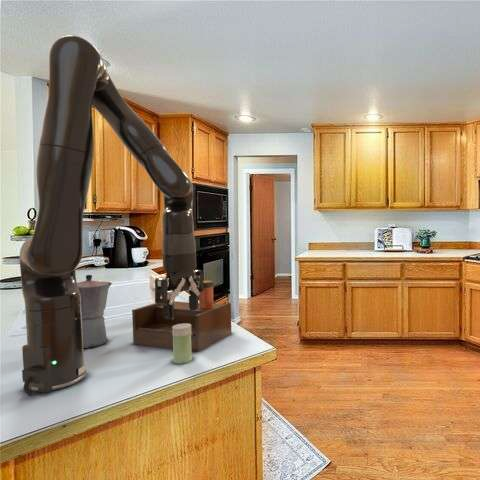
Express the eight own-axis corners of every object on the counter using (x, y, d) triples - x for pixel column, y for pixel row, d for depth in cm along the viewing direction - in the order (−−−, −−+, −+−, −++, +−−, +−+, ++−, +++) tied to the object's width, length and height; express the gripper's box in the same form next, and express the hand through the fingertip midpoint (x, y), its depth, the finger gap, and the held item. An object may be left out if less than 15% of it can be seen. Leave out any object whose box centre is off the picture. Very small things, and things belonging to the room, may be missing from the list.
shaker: (183, 364, 88) (182, 329, 87) (169, 362, 89) (167, 327, 88) (196, 357, 92) (195, 324, 91) (181, 356, 93) (180, 322, 92)
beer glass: (147, 319, 125) (146, 277, 124) (153, 314, 131) (152, 274, 130) (169, 318, 127) (168, 277, 126) (174, 313, 133) (172, 274, 132)
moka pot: (124, 337, 107) (121, 272, 105) (70, 357, 92) (66, 281, 90) (100, 334, 109) (97, 270, 108) (44, 353, 94) (40, 279, 93)
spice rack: (198, 351, 96) (197, 315, 95) (133, 343, 101) (132, 309, 101) (231, 333, 111) (230, 302, 110) (172, 327, 116) (171, 298, 115)
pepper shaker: (207, 309, 105) (207, 283, 105) (195, 308, 106) (195, 282, 106) (216, 306, 109) (216, 280, 109) (205, 305, 110) (204, 280, 110)
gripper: (186, 248, 96) (189, 306, 98) (143, 254, 82) (147, 321, 84) (210, 248, 95) (212, 307, 96) (170, 255, 81) (173, 324, 82)
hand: (182, 314), depth 90 cm, fingers open, 8 cm apart
